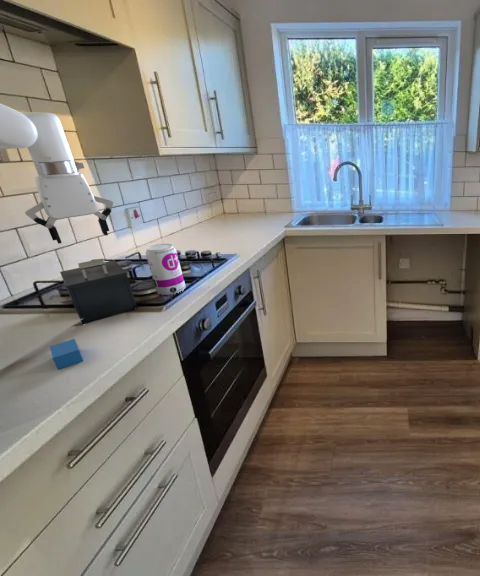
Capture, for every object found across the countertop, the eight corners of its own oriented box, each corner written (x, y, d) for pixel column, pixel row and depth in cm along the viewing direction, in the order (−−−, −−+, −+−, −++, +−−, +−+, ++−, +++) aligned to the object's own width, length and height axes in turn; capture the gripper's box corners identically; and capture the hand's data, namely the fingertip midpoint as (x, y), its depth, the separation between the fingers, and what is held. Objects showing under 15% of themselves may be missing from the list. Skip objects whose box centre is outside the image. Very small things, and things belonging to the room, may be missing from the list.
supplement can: (191, 288, 119) (180, 244, 113) (168, 298, 112) (155, 252, 106) (175, 284, 122) (163, 242, 116) (151, 294, 115) (137, 249, 109)
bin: (138, 308, 106) (126, 274, 101) (82, 324, 97) (67, 288, 93) (126, 294, 115) (115, 262, 111) (74, 308, 107) (60, 274, 102)
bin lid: (127, 274, 101) (121, 256, 99) (67, 288, 92) (60, 269, 90) (115, 262, 111) (109, 245, 109) (60, 274, 102) (53, 256, 100)
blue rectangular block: (83, 360, 81) (78, 349, 80) (57, 369, 78) (52, 358, 77) (78, 349, 86) (74, 338, 85) (54, 357, 83) (49, 346, 82)
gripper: (98, 165, 95) (119, 229, 102) (7, 172, 84) (38, 243, 91) (103, 167, 90) (125, 233, 97) (8, 174, 79) (40, 249, 86)
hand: (83, 238), depth 94 cm, fingers open, 9 cm apart
